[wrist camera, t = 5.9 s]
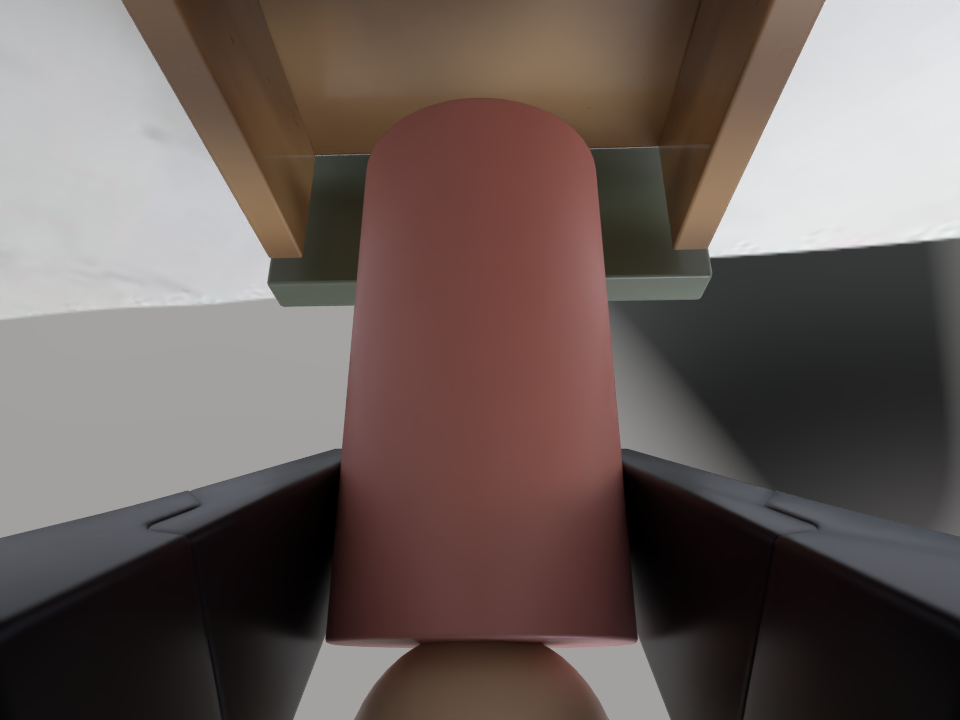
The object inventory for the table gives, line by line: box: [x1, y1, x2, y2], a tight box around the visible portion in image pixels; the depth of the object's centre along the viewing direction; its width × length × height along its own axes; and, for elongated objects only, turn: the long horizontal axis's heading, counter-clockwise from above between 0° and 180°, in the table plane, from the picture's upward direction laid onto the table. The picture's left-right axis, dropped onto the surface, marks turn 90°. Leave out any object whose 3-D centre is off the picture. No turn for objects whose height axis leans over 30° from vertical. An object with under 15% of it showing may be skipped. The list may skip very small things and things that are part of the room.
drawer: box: [122, 0, 825, 307], centre depth 13 cm, size 13×11×4 cm
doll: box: [326, 98, 638, 720], centre depth 10 cm, size 4×4×11 cm
